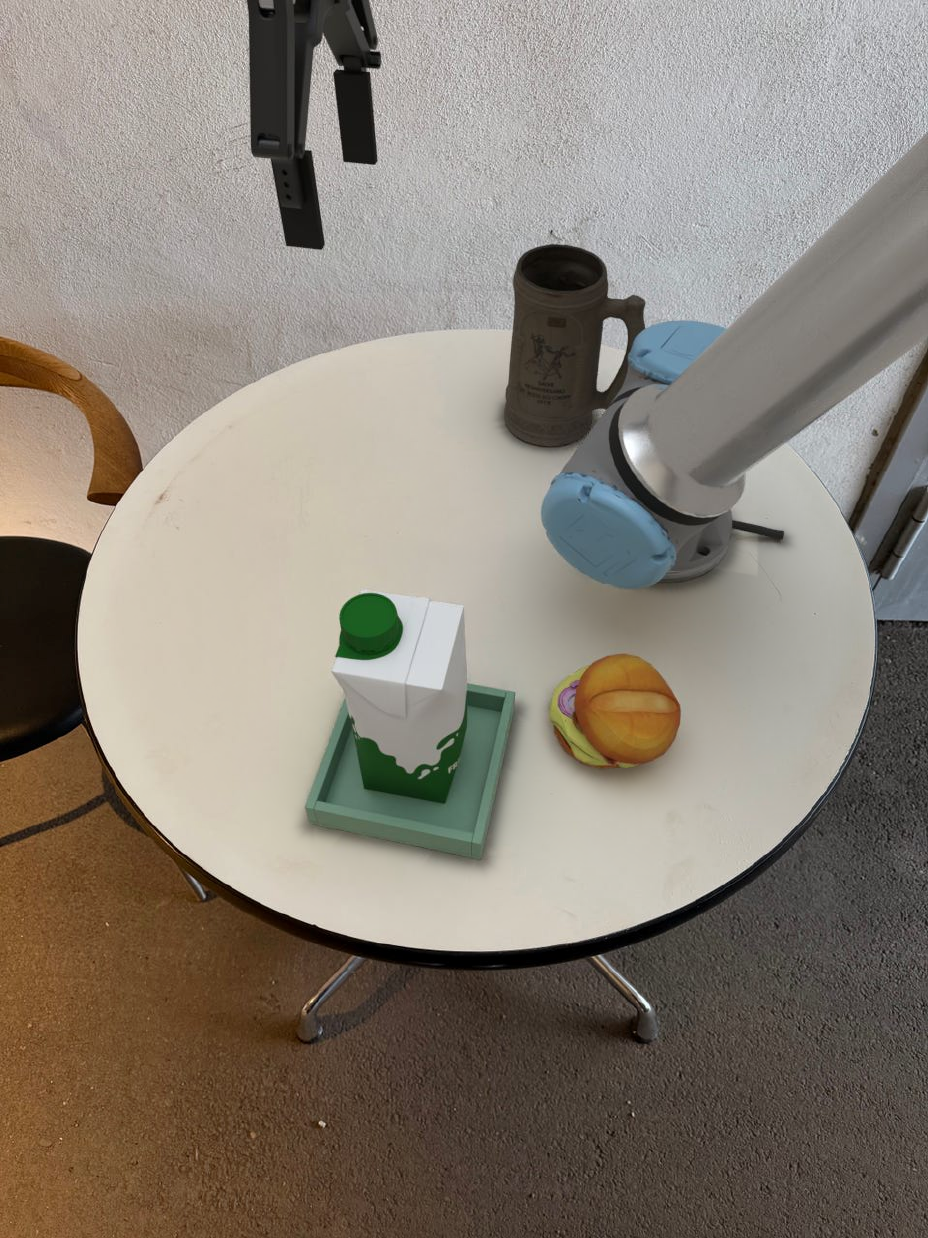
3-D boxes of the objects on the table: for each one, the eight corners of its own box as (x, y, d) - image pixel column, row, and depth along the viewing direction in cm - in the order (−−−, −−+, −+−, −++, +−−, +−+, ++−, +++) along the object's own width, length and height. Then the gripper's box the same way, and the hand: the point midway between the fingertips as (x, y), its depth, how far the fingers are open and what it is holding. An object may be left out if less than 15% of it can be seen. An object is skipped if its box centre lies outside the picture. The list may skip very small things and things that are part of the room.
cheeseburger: (601, 657, 81) (636, 608, 73) (677, 745, 78) (722, 705, 70) (521, 713, 77) (547, 669, 69) (597, 809, 74) (635, 774, 66)
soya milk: (377, 710, 77) (352, 562, 62) (475, 727, 76) (475, 580, 61) (350, 797, 72) (315, 659, 56) (455, 816, 71) (449, 681, 55)
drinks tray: (514, 710, 78) (515, 691, 76) (481, 860, 69) (481, 844, 67) (361, 681, 80) (357, 662, 78) (309, 824, 71) (304, 807, 69)
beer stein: (489, 439, 101) (505, 285, 85) (506, 384, 108) (524, 231, 92) (617, 464, 100) (659, 312, 84) (627, 407, 106) (667, 256, 90)
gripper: (298, -211, 57) (338, 127, 74) (129, -118, 42) (226, 281, 59) (407, -208, 56) (422, 135, 73) (272, -111, 41) (330, 293, 58)
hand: (334, 201), depth 66 cm, fingers open, 13 cm apart
